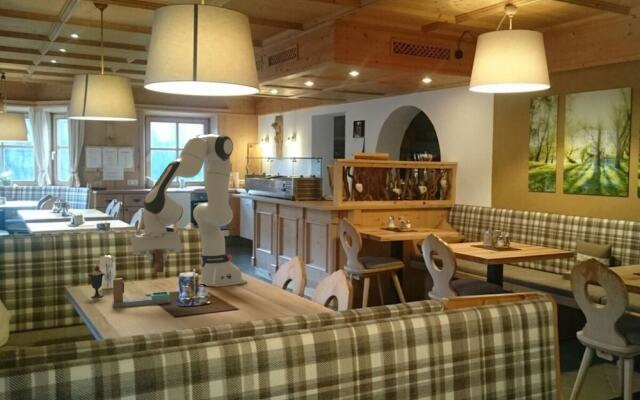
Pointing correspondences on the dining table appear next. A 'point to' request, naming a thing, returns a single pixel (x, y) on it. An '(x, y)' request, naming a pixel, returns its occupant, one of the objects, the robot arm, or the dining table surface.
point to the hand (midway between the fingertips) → (158, 260)
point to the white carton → (107, 270)
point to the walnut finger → (158, 261)
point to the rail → (138, 301)
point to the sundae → (96, 281)
